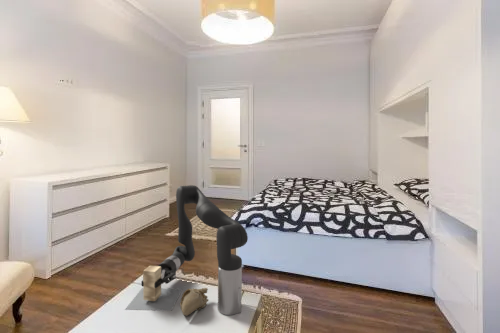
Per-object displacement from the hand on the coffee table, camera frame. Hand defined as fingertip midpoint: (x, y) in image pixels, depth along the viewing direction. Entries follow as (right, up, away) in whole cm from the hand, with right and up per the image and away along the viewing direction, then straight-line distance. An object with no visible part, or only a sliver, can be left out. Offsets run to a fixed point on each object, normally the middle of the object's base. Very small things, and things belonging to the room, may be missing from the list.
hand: (149, 284), depth 105 cm
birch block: (0, -6, +3) cm, 7 cm away
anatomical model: (+18, -9, -1) cm, 20 cm away
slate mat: (+1, -8, +4) cm, 9 cm away
